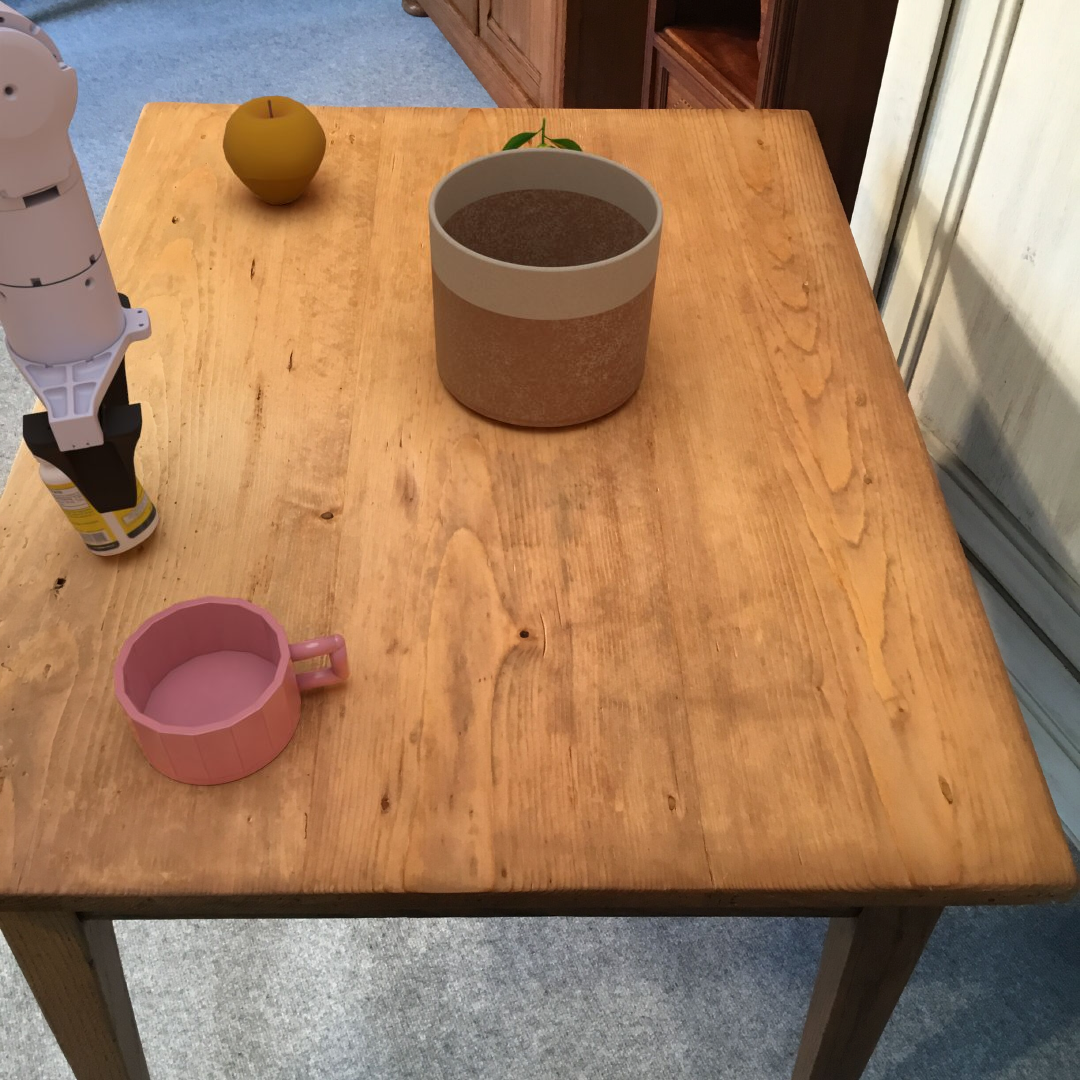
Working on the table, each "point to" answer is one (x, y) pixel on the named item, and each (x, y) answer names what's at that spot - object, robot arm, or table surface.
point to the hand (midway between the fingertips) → (114, 460)
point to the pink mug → (217, 687)
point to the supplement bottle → (100, 515)
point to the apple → (274, 147)
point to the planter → (543, 283)
